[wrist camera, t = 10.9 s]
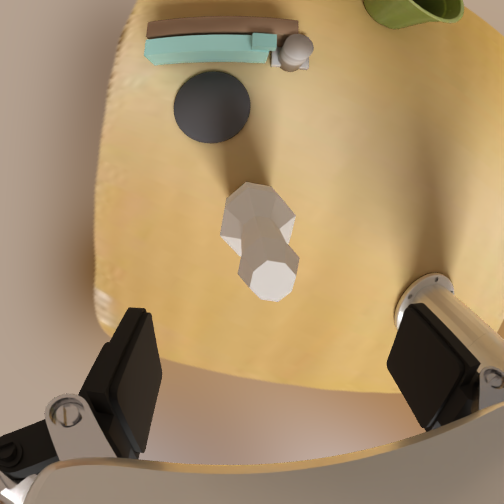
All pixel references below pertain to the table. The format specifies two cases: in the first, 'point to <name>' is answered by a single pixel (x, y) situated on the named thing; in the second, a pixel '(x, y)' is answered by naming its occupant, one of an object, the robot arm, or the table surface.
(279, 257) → the white bottle
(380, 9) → the plant pot
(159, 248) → the table surface
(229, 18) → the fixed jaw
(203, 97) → the dark grey disc
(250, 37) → the bar
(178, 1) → the table surface
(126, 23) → the table surface
